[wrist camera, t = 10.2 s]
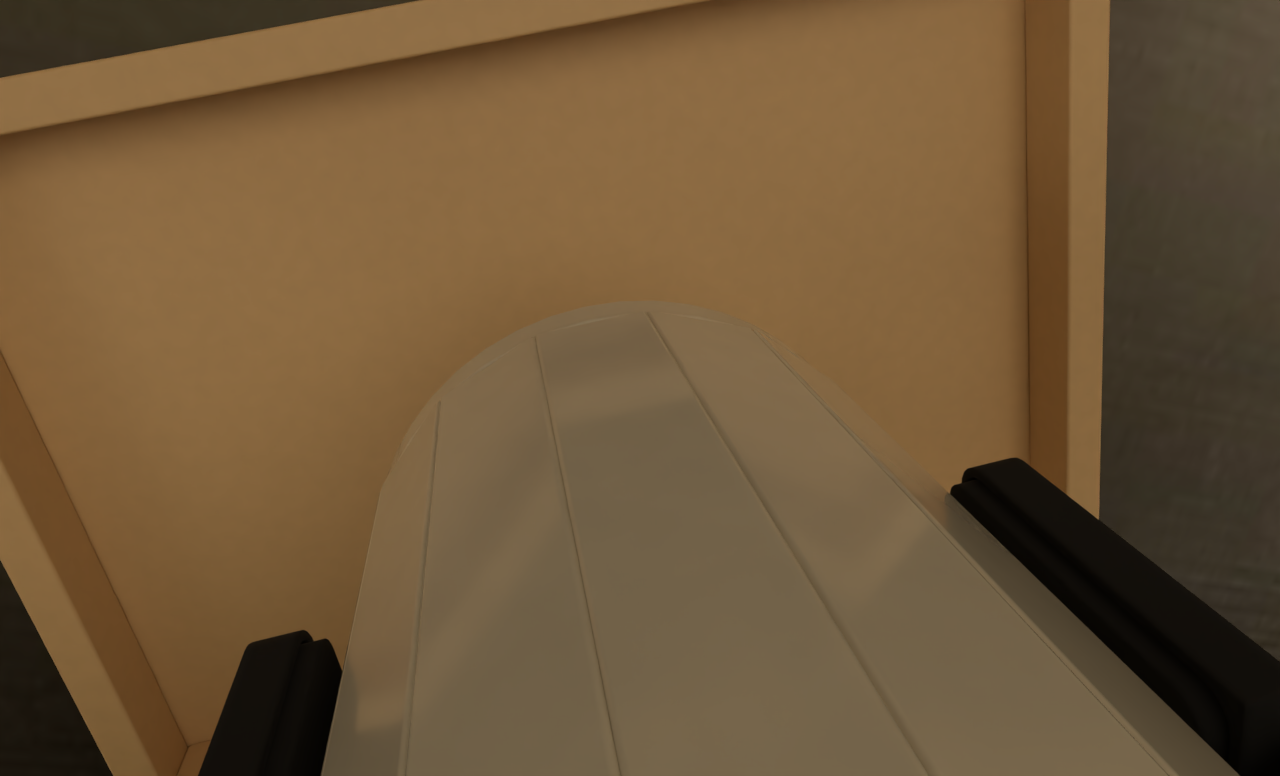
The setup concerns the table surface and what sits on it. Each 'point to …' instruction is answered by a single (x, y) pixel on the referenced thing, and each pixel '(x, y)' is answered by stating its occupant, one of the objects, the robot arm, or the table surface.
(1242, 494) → the table surface
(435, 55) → the tray
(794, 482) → the cup
